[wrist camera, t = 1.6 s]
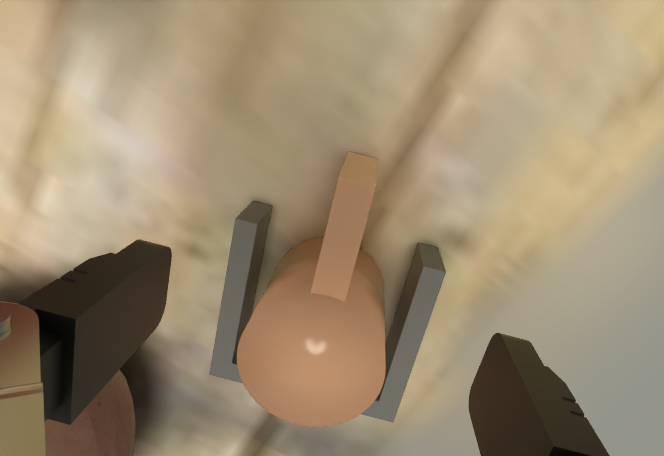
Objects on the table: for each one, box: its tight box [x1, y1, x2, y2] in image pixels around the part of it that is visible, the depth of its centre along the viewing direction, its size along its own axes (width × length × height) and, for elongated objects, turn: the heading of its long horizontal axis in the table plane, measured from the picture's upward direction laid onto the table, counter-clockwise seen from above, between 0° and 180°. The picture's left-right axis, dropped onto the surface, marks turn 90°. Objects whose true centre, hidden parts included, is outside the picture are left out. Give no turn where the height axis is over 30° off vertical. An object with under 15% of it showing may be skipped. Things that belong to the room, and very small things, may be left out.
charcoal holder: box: [210, 201, 446, 422], centre depth 27 cm, size 10×11×4 cm
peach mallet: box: [237, 152, 386, 427], centre depth 24 cm, size 12×7×8 cm, turn 167°
